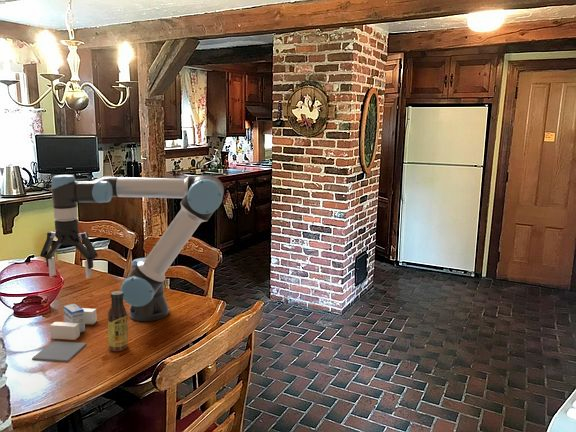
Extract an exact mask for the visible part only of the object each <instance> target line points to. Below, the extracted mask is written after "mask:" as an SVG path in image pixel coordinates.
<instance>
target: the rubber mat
mask: <svg viewBox="0 0 576 432" xmlns="http://www.w3.org/2000/svg"><path fill="white" fill-rule="evenodd" d="M86 345H87V342H76V341H74V342H73V341H61V340H60V341H58V340H57V341H56V340H52V341H51V342H50V343H49V344H48V345H46V346H45V347H44V348H43V349H41V350H40V351H39V352H38V353H36V354H35V355H34V356H33V357H32V358H31V360H32V361H44V362H45V361H46V362H47V361H48V362H49V361H50V362H64V363H68V362H70V361H71V360H72V359H73V358H74V357H75V356H76V355H77V354H79V352H80V351H82V350H83V348H85V347H86Z"/></svg>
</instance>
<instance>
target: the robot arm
mask: <svg viewBox="0 0 576 432" xmlns="http://www.w3.org/2000/svg"><path fill="white" fill-rule="evenodd" d="M50 190H51V193H52V205H53V219H55V220H54V229H55V231H53V230H51V231H48V232H47V233H46V240H45V242H44V245H43V247H42V249H41V252H40V254H39V256H40V257H41V258H44V259H45V263H46V267H47V268H48V273H49V278H52V277H54V276H56V275H57V272H56V271H57V270H56V262H55V256H54V255H55V253H56V252H57V251H58V249H59V248H60V247H61V245H62V246H66V245H67V246H73V247H75V248H76V249H77V251H79V252H80V253H81V255H82V256H83V257H84V258H85V260H84V267H85V278H86V279H89V278H90V277H92V276H93V273H92V269H93V268H94V259H96V258H98V257H99V255H98V253H97V251H96V249H95V247H94V245H93V243H92V242H91V240H90V239H89V233H88V232H87V231H85V232H80V231H79V229H80V228H79V219H78V216H79V215H78V203H97V204H103V203H109V202H110V201H112V198H146V199H147V198H148V199H149V198H150V199H151V198H152V199H153V198H155V199H157V198H159V199H181V201H180V203H179V204H180V210H179V211H178V212H177V214H176V215H175V217H174V219H173V220H171V222H170V224H169V225H168V227H167V228H166V230H165V231H164V232H163V233H162V235H161V236H160V238H159V239H158V241H157V242H156V243H155V245H154V246H153V247H152V249H151V250H150V251H149V253H148V255H147V256H146V257H139V258H135V259H133V260H132V261H131V269H132V270H131V271H130V273H129V274H128V275H127V277H126V279H124V280H123V281H122V284H121V286H120V291H122V292H123V294H124V296H123V302H125V303H126V304H128V305H130V307H129V317H130V318H131V320H134V321H137V322H153V321H158V320H161V319H164V318H165V317H167V316H168V315H169V313H170V312H169V311H170V309H169V304H168V302H167V299H166V297H165V292H164V290H165V289H164V282H165V280H166V275H165V274H166V272H167V271H168V269H169V268H170V267H171V265H172V264H173V263H174V261H175V259H176V258H177V257H178V255H179V253H180V252H181V251H182V249H183V248H184V247H185V246H186V245H187V243H188V241H189V240H190V239H191V237H192V236H193V234H194V233H195V232H196V230H197V229H198V227H199V226H200V225H201V224H202V223H204V222H208V221H209V220H210V218H211V217H212V215H213V214H214V213H215V211H217V210H218V209H219V208H220V206H221V204H222V203H223V198H224V195H225V187H224V185H223V182H222V181H221V180H220V179H219V178H218V177H216V176H215V175H209V174H208V175H207V174H205V175H188V176H186V178H179V177H178V178H172V177H170V178H168V177H166V178H165V177H130V176H129V177H128V176H125V177H124V176H121V177H120V176H119V177H118V176H112V175H111V176H110V175H103V176H100V177H98V178H96V179H93V180H90V181H89V180H82V181H81V180H76V177H75V175H73V174H58V175H54V176H52V177H51V189H50ZM54 238H56V239H57V240H56V241H55V243H54V245H53V246H52V243H53V241H54ZM51 246H52V247H51Z"/></svg>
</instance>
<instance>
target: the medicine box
mask: <svg viewBox="0 0 576 432" xmlns="http://www.w3.org/2000/svg"><path fill="white" fill-rule="evenodd" d="M82 308H83V307H80V306H79V305H78V304H76V303H71V304H67V305H64V306H63V308H62V309H63V322H69V323H79V331H80V333H83V332H85V331H86V324H85V320H84V309H82Z"/></svg>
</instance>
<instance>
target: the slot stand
mask: <svg viewBox="0 0 576 432" xmlns="http://www.w3.org/2000/svg"><path fill="white" fill-rule="evenodd" d="M81 308H82V309H84V320H85V325H94V324H96V322H97V321H98V319H97V308H86V307H81ZM49 328H50V329H49V330H50V339H53V340H54V339H55V340H57V339H58V340H72V341H73V340H74V341H77V339H78V338H79V337H80V336H81V335H80V334H81V332H80V331H79V323H69V322H64V321H54V322H53V323H51V324H49Z"/></svg>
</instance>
